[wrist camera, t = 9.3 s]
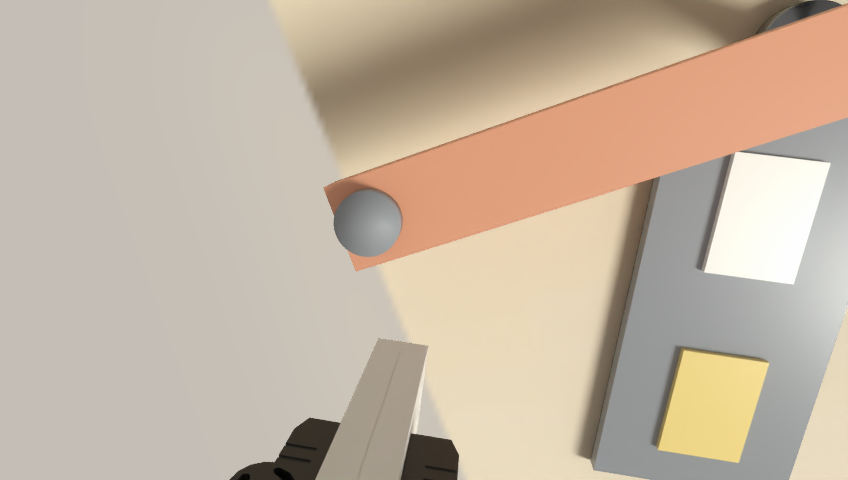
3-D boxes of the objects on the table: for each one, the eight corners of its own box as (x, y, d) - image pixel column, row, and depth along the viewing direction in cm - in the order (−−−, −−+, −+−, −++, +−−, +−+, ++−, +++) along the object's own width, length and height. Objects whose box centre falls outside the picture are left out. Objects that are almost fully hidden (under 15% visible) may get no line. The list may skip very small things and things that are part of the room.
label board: (671, 97, 30) (681, 97, 29) (895, 122, 29) (915, 123, 28) (590, 460, 36) (595, 474, 35) (773, 490, 35) (785, 505, 34)
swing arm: (832, 2, 27) (1014, -51, 18) (845, 80, 28) (1027, 67, 18) (364, 166, 31) (316, 191, 22) (387, 229, 32) (350, 278, 23)
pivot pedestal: (762, -1, 28) (774, -5, 27) (860, 9, 28) (876, 5, 27) (738, 95, 30) (748, 95, 28) (831, 106, 29) (845, 106, 28)
